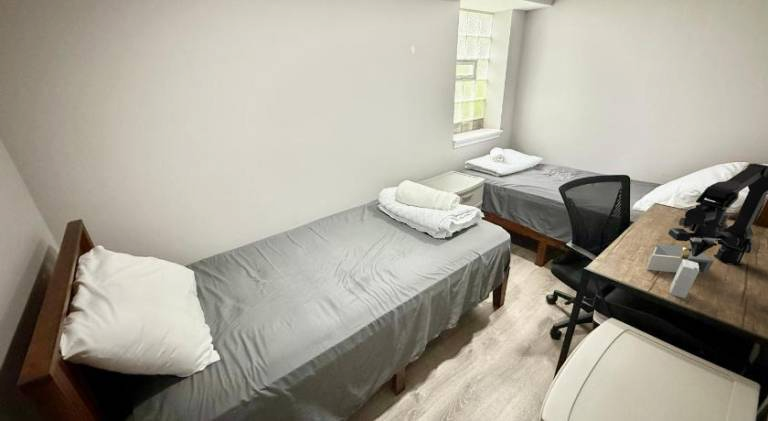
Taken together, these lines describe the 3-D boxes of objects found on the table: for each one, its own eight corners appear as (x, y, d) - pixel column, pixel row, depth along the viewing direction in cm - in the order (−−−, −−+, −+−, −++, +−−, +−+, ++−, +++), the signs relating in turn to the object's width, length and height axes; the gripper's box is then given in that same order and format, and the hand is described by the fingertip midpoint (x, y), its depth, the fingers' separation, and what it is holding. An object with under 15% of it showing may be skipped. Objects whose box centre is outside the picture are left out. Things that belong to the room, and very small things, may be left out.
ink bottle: (691, 230, 155) (700, 208, 151) (710, 230, 155) (720, 208, 150) (708, 239, 147) (718, 216, 142) (728, 240, 146) (739, 217, 141)
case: (690, 261, 130) (696, 247, 128) (706, 274, 121) (713, 260, 119) (651, 257, 133) (656, 244, 131) (664, 270, 124) (670, 256, 122)
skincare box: (669, 286, 115) (681, 258, 111) (686, 290, 113) (698, 262, 108) (669, 294, 111) (681, 265, 106) (686, 299, 108) (699, 270, 104)
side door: (680, 270, 123) (690, 247, 119) (683, 274, 121) (694, 250, 117) (645, 267, 126) (653, 244, 122) (648, 270, 124) (656, 247, 120)
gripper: (724, 212, 118) (708, 248, 124) (667, 208, 122) (654, 243, 128) (748, 225, 108) (729, 263, 114) (684, 220, 112) (669, 257, 118)
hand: (693, 256), depth 119 cm, fingers closed
